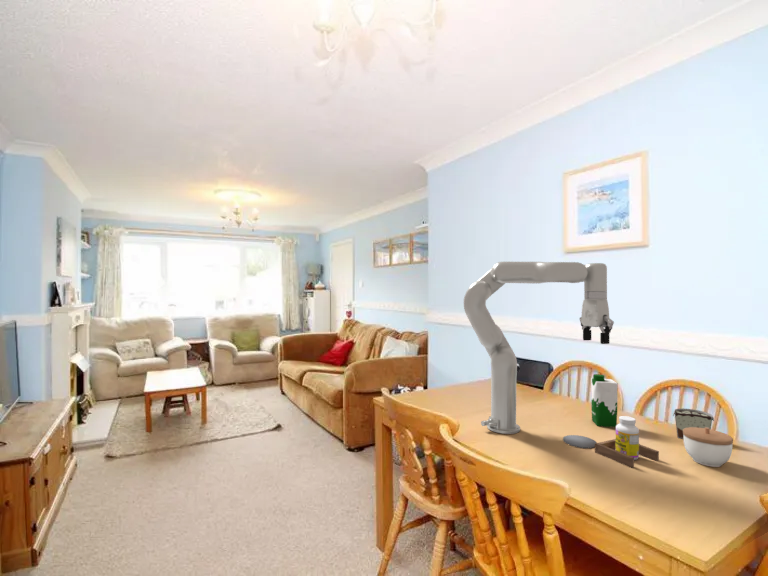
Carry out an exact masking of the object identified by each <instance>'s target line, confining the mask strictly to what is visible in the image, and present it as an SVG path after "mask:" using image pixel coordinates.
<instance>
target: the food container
mask: <svg viewBox="0 0 768 576" xmlns="http://www.w3.org/2000/svg"><path fill="white" fill-rule="evenodd" d="M672 416H673V417H674V419H675V429H676V436H677V438H678V439H682V440H683V429H684V428H689V427H698V428H705V427H707V428H710V429H711V430H712V423H713V422H715V417H714V416H713V414H711V413H709V412H706V411H703V410H698V409H693V408H675V409H674V410H673V413H672Z"/></svg>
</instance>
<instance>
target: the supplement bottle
mask: <svg viewBox="0 0 768 576" xmlns="http://www.w3.org/2000/svg"><path fill="white" fill-rule="evenodd" d="M618 421H619V423H618V424H617V425H616V427H615V439H616V444H615V450H616V451H619V452H621V453H624V454H626V455H629V456H631V457H634V461H637V460H638V459H639V456H640V455H639V444H640V429H639V427H637V426H636V421H637V420H636V418H634V417H631V416H629V415H622V416H621V415H619V416H618Z"/></svg>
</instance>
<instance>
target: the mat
mask: <svg viewBox="0 0 768 576" xmlns="http://www.w3.org/2000/svg"><path fill="white" fill-rule="evenodd" d="M562 441H563V443H565V444H566V445H568V444H569V445H568V446H571V447H574V448H579V449H586V450H587V449H595V443H598V442H597V441H596V440H594V438H590V437H587V436H583V435H578V434H577V435H576V434H569V435H565V436H563V437H562Z"/></svg>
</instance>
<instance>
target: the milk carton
mask: <svg viewBox="0 0 768 576" xmlns="http://www.w3.org/2000/svg"><path fill="white" fill-rule="evenodd" d="M590 380H591V383H590V385H591V421H592V422H593V424H594V425H596V426H597V427H602V426H603V428H604V427H605V428H616V425H617V423H618V422H617V421H618V389H619V388H618V385H619V383H618V382H616V381H615V380H614V379H611V378H605V375H603V374H596V373H595V374H593V377H591V379H590Z"/></svg>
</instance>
